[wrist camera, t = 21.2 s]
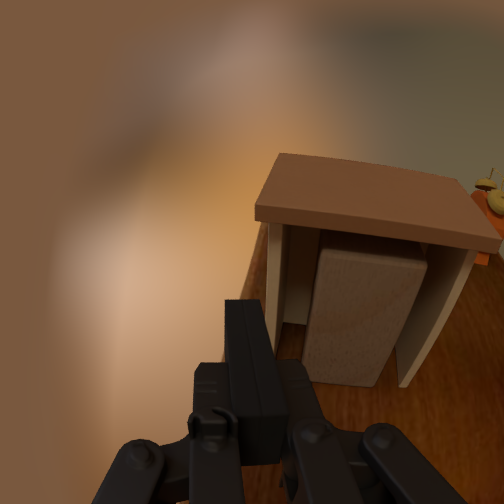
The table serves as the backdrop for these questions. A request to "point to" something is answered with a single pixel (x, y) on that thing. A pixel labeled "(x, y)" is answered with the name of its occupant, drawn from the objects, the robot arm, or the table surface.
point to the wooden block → (359, 305)
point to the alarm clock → (490, 209)
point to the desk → (371, 223)
